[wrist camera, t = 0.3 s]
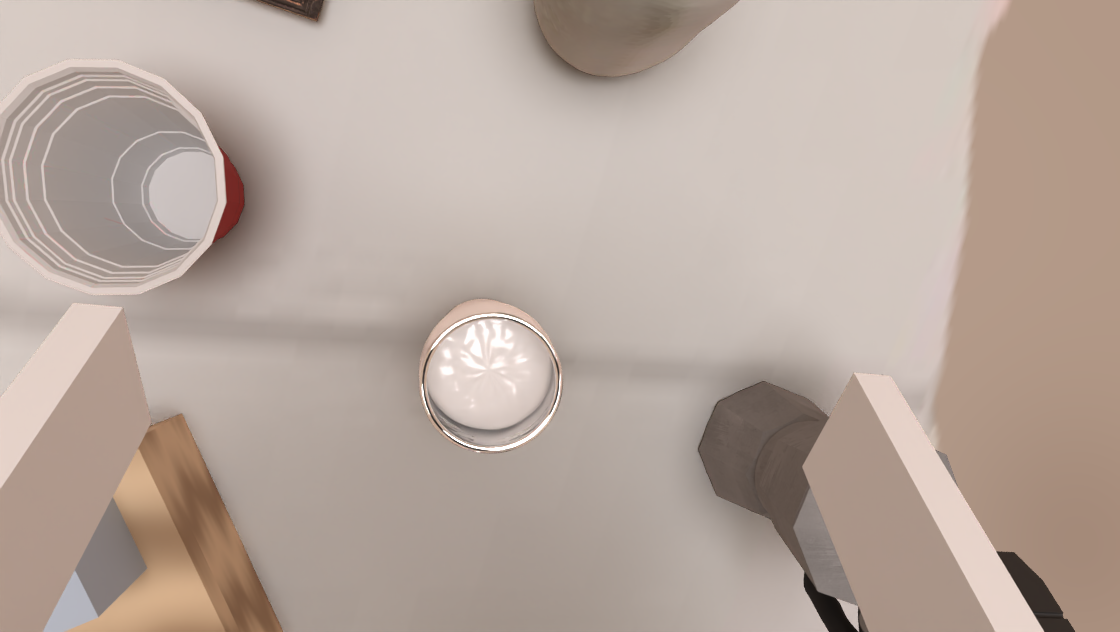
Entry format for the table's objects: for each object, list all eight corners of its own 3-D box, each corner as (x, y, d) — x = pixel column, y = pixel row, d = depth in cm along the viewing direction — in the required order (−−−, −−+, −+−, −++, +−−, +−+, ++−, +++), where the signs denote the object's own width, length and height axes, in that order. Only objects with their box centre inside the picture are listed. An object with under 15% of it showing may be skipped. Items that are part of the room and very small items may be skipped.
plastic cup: (64, 224, 44) (-81, 212, 32) (161, 73, 44) (52, 7, 32) (226, 320, 46) (144, 342, 34) (319, 175, 46) (271, 147, 34)
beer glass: (517, 408, 49) (542, 474, 34) (415, 380, 48) (395, 436, 33) (547, 308, 49) (586, 331, 34) (445, 278, 48) (439, 288, 33)
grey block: (147, 568, 40) (98, 617, 35) (47, 609, 40) (-18, 665, 34) (103, 477, 39) (46, 513, 34) (1, 518, 39) (-74, 561, 33)
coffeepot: (697, 354, 50) (826, 408, 33) (826, 351, 52) (1019, 401, 34) (694, 571, 52) (818, 737, 34) (821, 563, 53) (1004, 719, 35)
